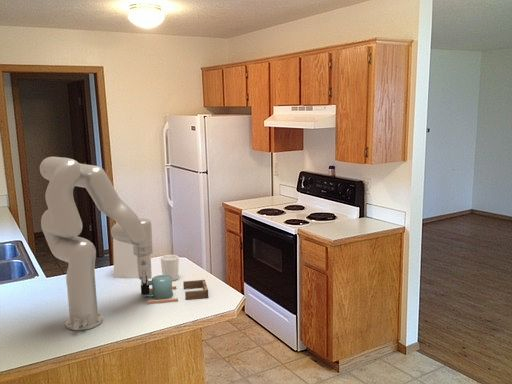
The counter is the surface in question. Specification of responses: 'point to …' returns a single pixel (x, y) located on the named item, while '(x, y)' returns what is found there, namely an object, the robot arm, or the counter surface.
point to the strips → (162, 299)
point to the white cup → (170, 266)
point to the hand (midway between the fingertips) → (145, 292)
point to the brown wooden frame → (195, 294)
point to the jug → (161, 287)
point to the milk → (124, 260)
